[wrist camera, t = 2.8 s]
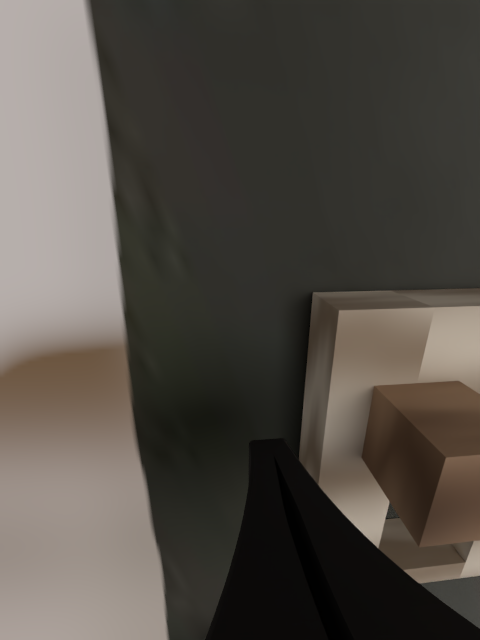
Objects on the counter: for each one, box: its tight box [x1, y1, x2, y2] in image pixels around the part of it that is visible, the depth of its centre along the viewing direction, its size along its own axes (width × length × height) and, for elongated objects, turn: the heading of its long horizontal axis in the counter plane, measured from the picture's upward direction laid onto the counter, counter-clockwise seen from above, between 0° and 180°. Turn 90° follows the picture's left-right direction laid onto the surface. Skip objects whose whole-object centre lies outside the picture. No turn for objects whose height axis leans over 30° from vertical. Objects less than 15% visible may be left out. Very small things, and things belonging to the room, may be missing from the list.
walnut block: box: [361, 381, 480, 547], centre depth 11 cm, size 4×4×4 cm
